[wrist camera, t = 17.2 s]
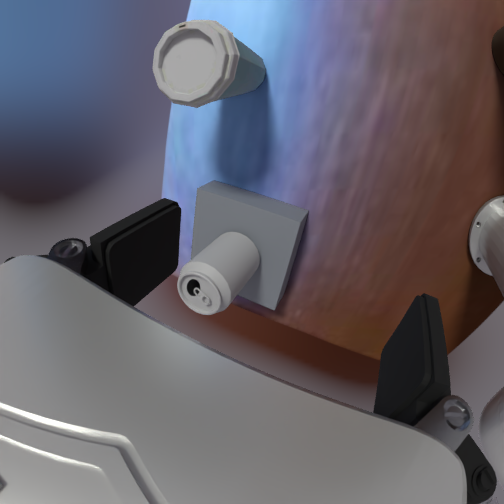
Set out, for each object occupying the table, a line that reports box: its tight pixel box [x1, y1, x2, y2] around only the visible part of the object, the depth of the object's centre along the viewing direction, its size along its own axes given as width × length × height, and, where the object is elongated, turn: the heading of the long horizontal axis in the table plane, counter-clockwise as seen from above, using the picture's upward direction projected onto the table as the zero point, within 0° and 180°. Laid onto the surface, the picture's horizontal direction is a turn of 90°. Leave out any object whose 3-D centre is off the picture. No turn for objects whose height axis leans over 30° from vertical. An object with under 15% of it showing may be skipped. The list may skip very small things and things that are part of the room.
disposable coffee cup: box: [153, 20, 266, 108], centre depth 31 cm, size 11×11×15 cm
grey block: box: [191, 181, 309, 310], centre depth 47 cm, size 16×16×5 cm
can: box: [177, 232, 260, 315], centre depth 40 cm, size 8×8×12 cm
